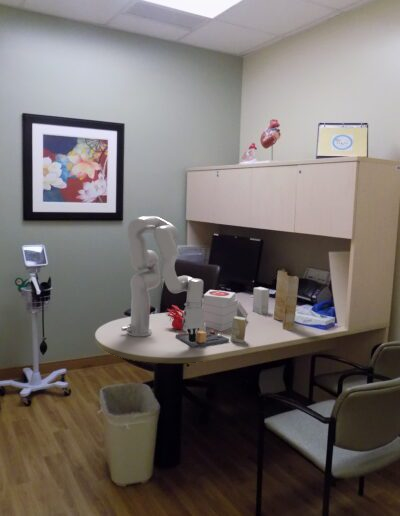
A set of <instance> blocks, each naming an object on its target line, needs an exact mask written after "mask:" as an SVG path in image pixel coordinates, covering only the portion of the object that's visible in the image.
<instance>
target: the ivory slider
mask: <svg viewBox="0 0 400 516" xmlns="http://www.w3.org/2000/svg"><path fill="white" fill-rule="evenodd" d="M206 328H207V327H206V324H205V323H204V326H203V328H202V329H200V330H199V331H204V332H206V330H207V329H206Z"/></svg>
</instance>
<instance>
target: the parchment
mask: <svg viewBox="0 0 400 516" xmlns="http://www.w3.org/2000/svg"><path fill="white" fill-rule="evenodd" d="M298 289H299V276H296V275H294V276H291V275H288V271H285V270H284V269H283V270H282V269H279V270H277V277H276V288H275V300H274V308H273V309H274V310H273V320H277V321H280V322H281V321H283V322H282V329H283V330H286V331H294V329H295V321H296V319H295V318H296V312H297V311H296V309H297V301H298Z"/></svg>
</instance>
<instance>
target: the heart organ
mask: <svg viewBox="0 0 400 516" xmlns="http://www.w3.org/2000/svg"><path fill="white" fill-rule="evenodd" d="M171 307H172V308H167V312H165V315H166V316H167V317H170V319H169V321H170V322H171V326H172V328H173V329H175V330H178V331H181V330H183V314H184V310H182V309H180V308H179V307H178V306H177V305H173V304H172V305H171Z"/></svg>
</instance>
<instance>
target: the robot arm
mask: <svg viewBox="0 0 400 516" xmlns="http://www.w3.org/2000/svg"><path fill="white" fill-rule="evenodd" d="M126 230H127V231H126V233H127V238H128V244H129V254H130V263H131V267H132V268H133V269H134V270H135V271H142V270H143V271H142V272H137V273H136V274H134V275H133V276H132V277H131V279H130V280H129V281H130V290H131V291H130V292H131V305H130V307H131V308H130V323H128V325H127V326H122V327H120V328H121V332H125V331H126V332H127V333H126V334H127V335H129V336H132V337H137V338H139V337H141V338H142V337H148V336H151V335H152V334H153V331H152V329H150V317H151V316H150V315H151V314H150V313H151V296H150V292H149V290H153V289H155V288H157V287H158V286H159V285H160V284H161V274H162V279H163V281H164V284H165V286H166V288H167V290H168V292H170V293H172V294H175V295H176V294H180V293H182V292H186V302H185V303H184V306H185V307H184V310H183V312H184V314H183V329H182V331H184V332H186V333H189V341H190V342H195V339H196V334H197V331H198V330H199V329H202V328H203V326H204V308H203V307H202V299H203V297H204V280H203V279H201V278H194V277H192V276H189V275H181V276H180V275H179V276H177V272H176V270H175V269H176V268H175V264H176V261H177V259H178V258H179V256H180V252H179V250H178V247H177V244H176V242H175V241H176V240H178V239H179V235H180V234H179V230H178V228H177V227H176V226H175V225H173V224H172V223H170V222H169V221H166V220H164V219H162V218H160V216H156V215H146V216H145V215H144V216H137V217H134V218H132V220H131V221H130V222H129V223H128V225H127V229H126ZM152 233H153V238H154V241H155V243H156V246H157V248H158V251H159V254H160V257H161V258H162V266H160V261H159V259H160V258H159V257H158V254H157V253H156V252H155V251H154V250H151V249H148V247H147V240H146V238H145V236H144V234H152ZM160 267H161V268H160ZM160 269H161V271H160Z"/></svg>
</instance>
